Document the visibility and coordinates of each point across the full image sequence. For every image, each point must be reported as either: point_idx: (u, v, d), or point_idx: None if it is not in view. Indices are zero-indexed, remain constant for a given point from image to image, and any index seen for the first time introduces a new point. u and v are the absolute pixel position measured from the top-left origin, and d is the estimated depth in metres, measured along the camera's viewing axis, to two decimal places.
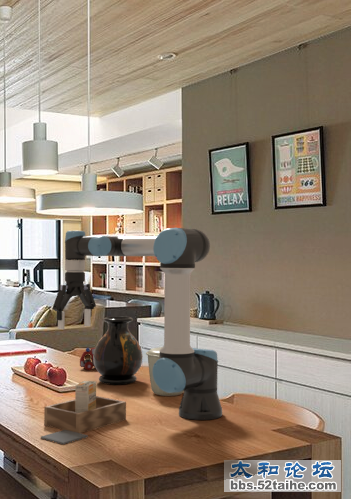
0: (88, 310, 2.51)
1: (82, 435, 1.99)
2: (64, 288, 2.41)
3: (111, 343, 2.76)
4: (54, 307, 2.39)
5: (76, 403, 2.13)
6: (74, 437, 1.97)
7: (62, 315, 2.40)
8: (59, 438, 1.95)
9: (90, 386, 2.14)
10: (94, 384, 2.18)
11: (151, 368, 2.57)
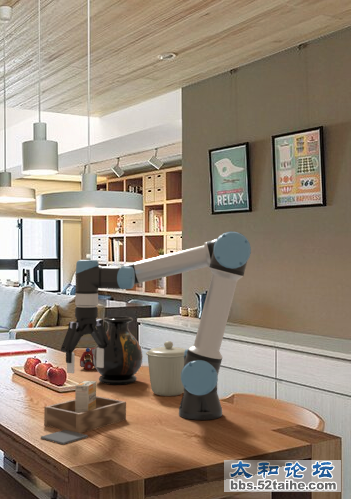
0: (101, 349, 2.21)
1: (82, 435, 1.99)
2: (74, 326, 2.11)
3: (111, 343, 2.76)
4: (63, 348, 2.09)
5: (76, 403, 2.13)
6: (74, 437, 1.97)
7: (72, 357, 2.10)
8: (59, 438, 1.95)
9: (90, 386, 2.14)
10: (94, 384, 2.18)
11: (151, 368, 2.57)
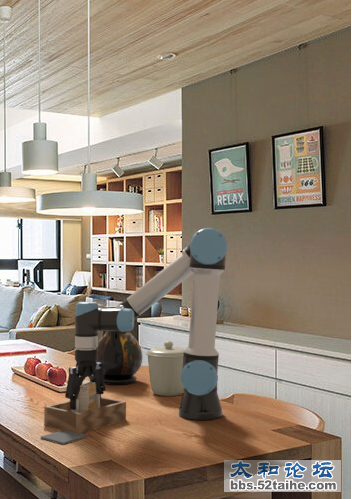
0: (97, 395, 2.20)
1: (82, 435, 1.99)
2: (75, 372, 2.11)
3: (111, 343, 2.76)
4: (67, 395, 2.10)
5: None
6: (74, 437, 1.97)
7: (76, 404, 2.12)
8: (59, 438, 1.95)
9: (90, 386, 2.14)
10: (94, 384, 2.18)
11: (151, 368, 2.57)
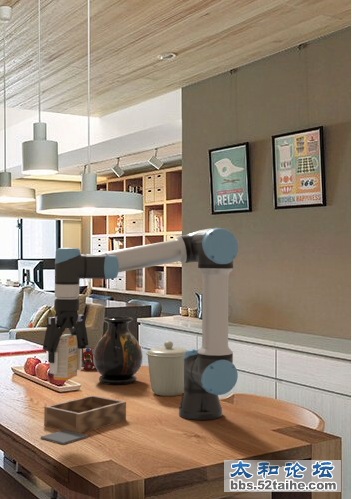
0: (79, 350, 2.03)
1: (82, 435, 1.99)
2: (53, 322, 1.94)
3: (111, 343, 2.76)
4: (45, 347, 1.94)
5: None
6: (74, 437, 1.97)
7: (55, 356, 1.95)
8: (59, 438, 1.95)
9: (70, 338, 1.98)
10: (75, 337, 2.02)
11: (151, 368, 2.57)
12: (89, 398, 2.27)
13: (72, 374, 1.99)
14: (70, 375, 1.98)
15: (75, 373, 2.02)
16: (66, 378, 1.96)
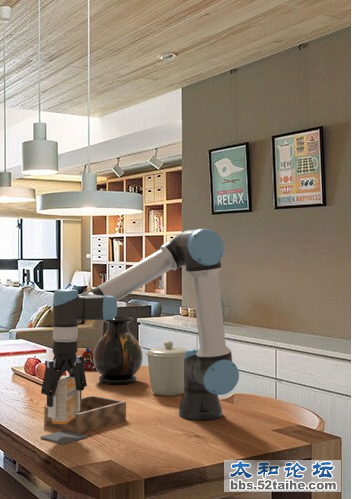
0: (77, 392, 2.01)
1: (82, 435, 1.99)
2: (52, 365, 1.93)
3: (111, 343, 2.76)
4: (43, 391, 1.92)
5: None
6: (74, 437, 1.97)
7: (53, 400, 1.93)
8: (59, 438, 1.95)
9: (69, 381, 1.96)
10: (73, 379, 2.00)
11: (151, 368, 2.57)
12: (89, 398, 2.27)
13: (70, 417, 1.98)
14: (69, 418, 1.97)
15: (73, 415, 2.00)
16: (65, 422, 1.94)
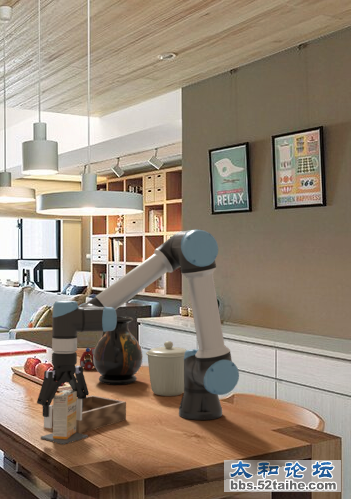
0: (79, 400, 2.02)
1: (82, 435, 1.99)
2: (50, 376, 1.92)
3: (111, 343, 2.76)
4: (39, 401, 1.91)
5: (54, 415, 1.95)
6: (74, 437, 1.97)
7: (49, 410, 1.92)
8: None
9: (69, 396, 1.96)
10: (74, 394, 2.00)
11: (151, 368, 2.57)
12: (89, 398, 2.27)
13: (71, 432, 1.98)
14: (70, 433, 1.97)
15: (74, 430, 2.00)
16: (65, 437, 1.94)
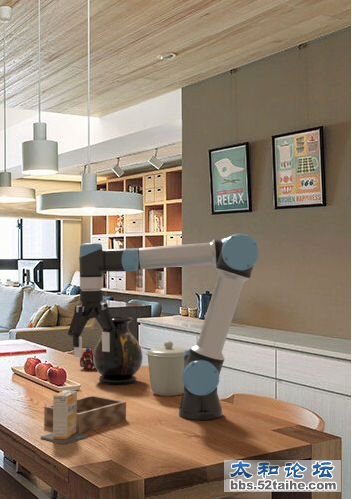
0: (106, 333, 2.20)
1: (82, 435, 1.99)
2: (81, 310, 2.10)
3: (111, 343, 2.76)
4: (70, 332, 2.07)
5: (54, 415, 1.95)
6: (74, 437, 1.97)
7: (79, 341, 2.09)
8: None
9: (69, 396, 1.96)
10: (74, 394, 2.00)
11: (151, 368, 2.57)
12: (89, 398, 2.27)
13: (71, 432, 1.98)
14: (70, 433, 1.97)
15: (74, 430, 2.00)
16: (65, 437, 1.94)
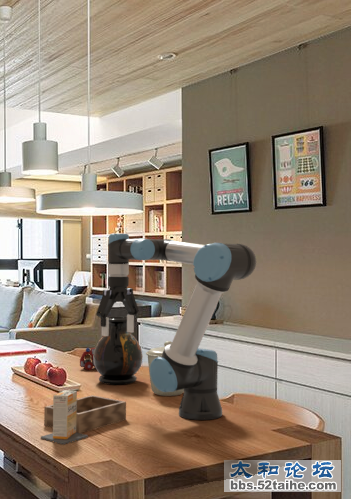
0: (131, 316, 2.42)
1: (82, 435, 1.99)
2: (108, 293, 2.32)
3: (111, 343, 2.76)
4: (98, 313, 2.30)
5: (54, 415, 1.95)
6: (74, 437, 1.97)
7: (106, 321, 2.32)
8: None
9: (69, 396, 1.96)
10: (74, 394, 2.00)
11: None
12: (89, 398, 2.27)
13: (71, 432, 1.98)
14: (70, 433, 1.97)
15: (74, 430, 2.00)
16: (65, 437, 1.94)
